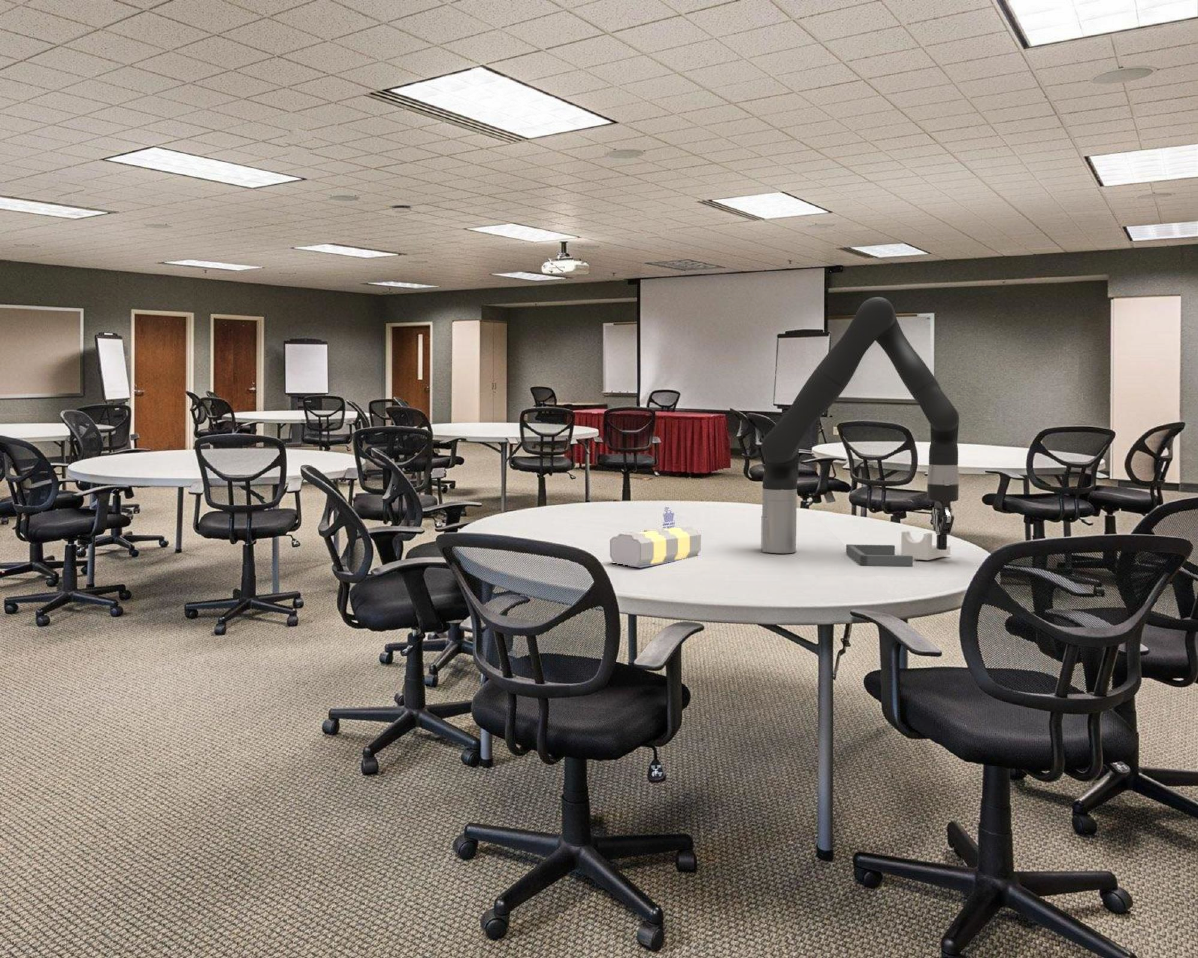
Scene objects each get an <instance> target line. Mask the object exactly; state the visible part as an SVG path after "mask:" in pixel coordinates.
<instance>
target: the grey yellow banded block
mask: <svg viewBox="0 0 1198 958" xmlns="http://www.w3.org/2000/svg"><path fill="white" fill-rule="evenodd" d="M664 512H665V513H663V514H662V515H663V516H662V517H663V521H662V529H660V528H654V529H653V528H652V529H646V530H643V531H642V532H635V531H634V532H624V533H619V534H617V535H616V536H613V537H611V539H610V540H609V557H610V558H611V560H612V561H611V562H615V563H618V564H623V565H622V566H625V565H628V566H627V567H632V568H633V567H635V568H640V569H641V568H646V567H651V566H656V565H658V566H659V565H662V564H668V562H669V563H673V561H674V562H678V561H683V560H686V559H687V558H688V559H692V558H693V557H696V556H698V555H699V553H700V551H701V550H702V548H701V547H702V545H701V544H702V533H700V532H699V531H698V530H694V528H693V527H692V526H686V525H676V523H675V522H676V521H674V517H675V513H674V512H672V510H671V509H670V507H667V506H665V507H664ZM682 559H683V560H682ZM618 564H617V565H618Z"/></svg>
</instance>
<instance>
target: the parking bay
mask: <svg viewBox="0 0 1198 958" xmlns="http://www.w3.org/2000/svg"><path fill="white" fill-rule="evenodd" d="M845 547H846V549H845V553H847V554H846V555H847V556H849V558H851V559H852V560H854V561H855V562H856V563H857V564H858V565H860V566H861V567H862V566H863V567H913V566H914V563H913V556H909V555H901V554H897V555H896V554H895V551H896V549H895V548H896V545H895V544H846V546H845Z"/></svg>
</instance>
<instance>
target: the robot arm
mask: <svg viewBox="0 0 1198 958" xmlns="http://www.w3.org/2000/svg"><path fill="white" fill-rule="evenodd" d="M895 311H896V310H895V308H894V307H893V304H892V303H891V302H890V300H888V299H887V298H884V297H882V296H881V297H880V296H876V297H871V298H868V299H867V300H865V301H864V302H863V303H861V305H860V306H859V308H858V310H857V312H856V313H855V314H854V317H853V318H852V320H851V322H850V323H849V325H848V327H847V328H846V330H845V332H844V333H843V335H842V336H841V337H840V339H839V340H838V341H837V342H836V343H835V345H834V346H833V347H832V348H831V349H830V350H829V352H828V353H827V354H826V355H825V356H824V358H823V359H822V360H821V362H820V363H819V364H818V365H817V366H816V368H815V369H814V370H813V371H812V373H811V375H810V376H809V377H808V379H807V380H806V382H805V383H804V385H803V386H802V388H801V389H800V390H799V392H798V394H797V396H796V397H795V399H794V400H793V402H792V404H791V405H790V407H789V409H787V412H786V413H784V416H782V418H781V419H779V421H778V422H777V423H776V424H775V425H774V426H773V427H772V429H770V431H769V432H768V433H767V434H766V435H765V436H764V437H763V439H762V442H761V447H760V448H761V449H760V450H761V454H762V456H763V458H764V473H763V477H762V493H761V494H762V496H761V497H762V500H761V501H762V503H761V505H762V506H761V507H762V509H761V510H762V511H761V514H762V515H761V520H760V521H761V522H760V523H761V524H760V530H761V531H760V532H761V533H760V550H761V552H762V553H772V554H792V553H796V552H797V519H798V518H797V506H798V505H797V504H798V500H797V499H798V498H797V497H798V496H797V495H798V479H799V465H800V464H799V461H800V460H799V459H800V447H799V444H801V441H802V439H804V437H805V436H806V433H807V432H808V431H809V429H810V428H811V427H812V426H813V425H814V423H815V422H817V420H819V419H820V417H822V416H823V415H824V414H825V413H826V411H828V410H829V409H830V408H831V407H832V405H833V404H834V403H835V402H836V401H837V399H838V398H839V396H841V394H842V393H843V391H844V390H845V389H846V388H847V386H848V385H849V383H850V382H851V380H852V378H853V376H854V374H855V373H856V371H857V369H858V367H859V365H860V362H861V361H862V359H863V357H864V355H865V354H866V352H867V351H868V349H869V348H870V347H871V346H872V345H873V344H874V343H875V342H876V343H877V344H878V345H879V346H880V347H881V348H882V350H883V351H884V352H885V354H886V356H887V357H888V358H889V360H890V363H892V365H893V367H894V369H895V370H896V372H897V374H898V376H899V378H900V379H901V381H902V383H903V384H904V386H905V387H906V389H907V390H908V392H909V393H910V395H911V396H912V398H913V399H914V400H915V402H917V404H918V405H919V407H920V409H921V410H922V413H923V414H924V416H925V417H926V420H927V421H928V422H929V424H930V425H929V427H930V445H929V450H928V469H927V479H926V480H927V485H926V492H927V493H926V499H927V501H930V502H934V504H933V505H934V506H933V507H932V510H931V511H930V518H931V520H932V521H931V522H932V527H933V528H932V529H933V531H934V533H935V535H936V543H935V544H936V548H937V549H939V550H946V549H947V545H948V536H949V534H951V531H952V529H953V525H954V521H955V516H954V515H953V508H952V506H951V503H952V502H957V501H958V500H959V491H960V490H959V485H960V484H959V481H960V479H959V478H960V475H959V474H960V472H959V446H958V438H959V428H960V427H959V426H960V425H959V424H960V414H959V412H958V411H957V409H956V408H955V406H954V405H953V404H952V402H951V401H950V399H949V398H948V397H947V396H946V394H945V393H944V391H943V390H942V388H941V386H940V384H939V382H938V380H937V378H935V375H934V374H933V373H932V372H931V370H930V368H929V367H928V365H927V364H926V363H925V361H924V360H923V359H922V358H921V357H920V355H919V354H918V353H917V351H915V349H914V348H913V346H912V345H911V343H910V342H909V340H908V339H907V337H906V336H905V334H904V331H903V329H902V327H901V325H900V323H899V320H898V319H897V316H896V312H895Z"/></svg>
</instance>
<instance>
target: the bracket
mask: <svg viewBox="0 0 1198 958" xmlns="http://www.w3.org/2000/svg"><path fill="white" fill-rule="evenodd" d="M900 539H901V540H900V541H901V544H900V545H901V546H900V548H901V550H900V555H909V556H913V561H918V560H924V561H930V560H933V559H937V558H942V557H947V556H950V555H951V545H950V544H947V549H946V550H939V549H937V548H936V544H937V543H933V533H932V532H929V533H923V537H922V539H921V540H920V541H917V540H915V539H913V537H912V535H911V531H910V530H905V531H904V530H903V531H901V538H900Z"/></svg>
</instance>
